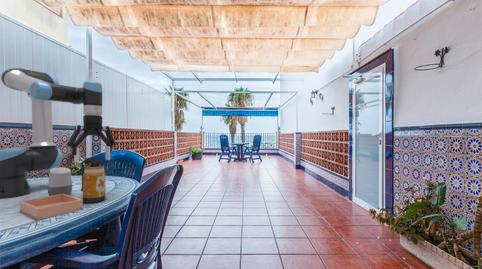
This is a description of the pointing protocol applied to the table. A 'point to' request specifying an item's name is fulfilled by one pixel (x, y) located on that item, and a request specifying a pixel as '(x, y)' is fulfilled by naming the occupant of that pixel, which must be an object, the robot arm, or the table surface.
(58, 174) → the smart speaker
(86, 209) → the table surface
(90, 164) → the canister
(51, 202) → the tray
